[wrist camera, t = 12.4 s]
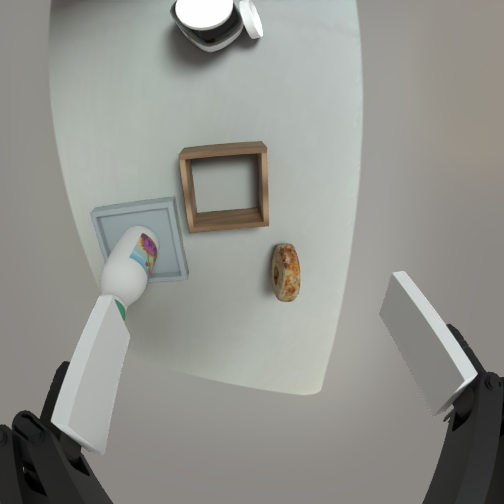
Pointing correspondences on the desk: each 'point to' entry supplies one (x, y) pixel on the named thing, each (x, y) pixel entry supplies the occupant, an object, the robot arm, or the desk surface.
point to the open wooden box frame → (226, 217)
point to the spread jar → (215, 21)
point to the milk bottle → (129, 266)
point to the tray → (153, 217)
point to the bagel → (285, 273)
